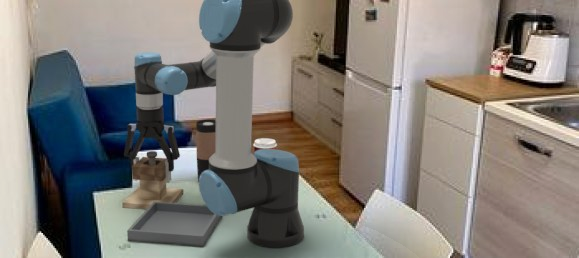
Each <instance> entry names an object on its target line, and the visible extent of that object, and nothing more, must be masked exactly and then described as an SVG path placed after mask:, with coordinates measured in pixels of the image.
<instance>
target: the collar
mask: <svg viewBox="0 0 579 258" xmlns="http://www.w3.org/2000/svg"><path fill="white" fill-rule="evenodd" d="M155 159H156V165H149V157H147V156H142V157H141V158H139V161H138V162H137V163H135V164H134V165H133V166H132V169H131V176H132V180H137V181H140V180H150V181H163V180H164V179H165V178H166V167H165V161H166V160H167V158H166V157H155ZM172 172H173V171H171V173H172Z"/></svg>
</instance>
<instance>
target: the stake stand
mask: <svg viewBox="0 0 579 258" xmlns="http://www.w3.org/2000/svg"><path fill="white" fill-rule="evenodd" d="M146 157H149V165H156V159H155V158H158V152H157V151H154V150H152V151H147V152H146ZM181 195H182V196H183V195H184V189H183V188H173V187H172V188H171V187H167V183H166V178H165V179H164V180H163V181H150V180H139V186H138V187H137V188H136V189H135V190H134V191H133V192H132V193H131V194H130V195H128V197H127V198H125V199H124V200H123V202H122V204H121V205H122V208H125V209H141V210H147V209H148V207H149V206H150V205H151V204H152V203H153V202H167V203H177V202H178V201H179V200H180V198H181V197H182V196H181ZM177 200H178V201H177Z"/></svg>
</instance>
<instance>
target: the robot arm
mask: <svg viewBox="0 0 579 258" xmlns="http://www.w3.org/2000/svg"><path fill="white" fill-rule="evenodd" d="M293 13H294V12H293V7H292V3H291V2H290V0H203V1H202V3H201V6H200V8H199V15H198V24H199V25H198V26H199V29H200V30H201V35H202V36H203V38H204V39H205V40H206V41H207V42H209V49H210V50H211V51H210V52H209V53H208V54H207V55H206V56H204V57H203V58H201V59H200V60H198V61H190V62H185V63H184V62H183V63H182V62H181V63H173V64H165V63H163V61H162V55H161V54H160V53H158V52H140V53H137V54H135V55H134V66H133V68H134V69H133V70H134V79H135V80H134V84H135V100H136V101H135V102H136V103H135V105H136V121H137V122H136V123H133V122H131V123H129V124H127V125H126V130H127V131H126V132H127V135H126V141H125V145H124V152H123V156H124V157H126V158H129V160H130V168H131V170H132V166H133V165H134V164H135V163H137V162H138V161H139V160H140V156H138V153H139V151H140V149H141V147H142V145H143V143H144V141H145V139H150V138H151V139H155V140H156V142H157V143H158V145H159V147H160V148H161V150H162V152H163V154H164V156H165V158H167V160H166V161H165V167H166V184H167V183H170V182H171V181H172V172H173V171H174V169H175V161H176V160H178V159H179V158H180V156H181V154H180V150H179V147H178V142H177V139H176V135H175V130H176V129H175V127H176V126H175V125H174V124H172V125H166V124H165V121H164V107H163V105H164V102H163V101H164V100H163V99H164V97H163V95H164V94H165V95H172V96H177V95H181V93H183V92H184V91H189V90H196V89H203V88H204V89H205V88H215V120H216V138H215V153H214V154H213V155H212V156H211V157H210V158H209V170H205V171H204V172H202V174H201V175H200V177H199V182H198V187H199V193H200V196H201V199H202V200H203V202H204V205H206V206H207V207H208V208H209V210H210V211H211V212H213V213H214V214H216V215H219V216H222V217H225V216H228V215H235V214H237V213H240V212H243V211H247V210H249V209H252V212H251V214H250V217H249V221H248V223H247V225H246V237H247V239H248V240H249V241H250V242H251V243H253V244H255V245H257V246H261V247H264V248H274V249H276V248H279V249H280V248H287V247H291V246H294V245H296V244H299V243H300V242H302V240H303V239H304V238H305V226H304V223H303V220H302V217H301V214H300V211H299V183H300V166H299V164H300V163H299V159H298V157H297V156H296V155H295V154H294V153H291V152H289V151H286V150H281V149H276V150H275V149H260V150H257V151H254V153H252V129H253V124H252V123H253V99H254V98H253V94H254V92H253V91H254V90H253V89H254V61H255V60H254V59H255V58H254V56H255V55H256V54H257V53H258V52H260V51H261V48H262V47H263V46H265V45H270V44H273V43H275V42H276V41H277V40H279V39H280V38H282V37H283V36H284V35H285V34H286V33H287V32H288V31H289V29H290V27H291V26H292V22H293V17H294V14H293ZM136 130H137V131H138V132H139V135H138V137H137V141H136V142H135V145H134V147H133V142H134V137H135V133H136V132H135V131H136ZM164 130H165V134H167V139H168V142H169V144H168V143H167V140H166V139H165V136H164V134H163V132H164ZM132 148H133V149H132ZM171 171H172V172H171ZM133 180H134V179H133ZM134 181H138V180H134Z"/></svg>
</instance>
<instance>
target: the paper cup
mask: <svg viewBox="0 0 579 258" xmlns="http://www.w3.org/2000/svg"><path fill="white" fill-rule="evenodd" d="M252 146H253V148H254V149H253V150H254V152H255V151H257V150H260V149H275V150H277V146H278V143H277V142H276V140H275V139H273V138H266V137H263V138H262V137H261V138H257V139H255V140H254V143H253V144H252Z"/></svg>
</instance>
